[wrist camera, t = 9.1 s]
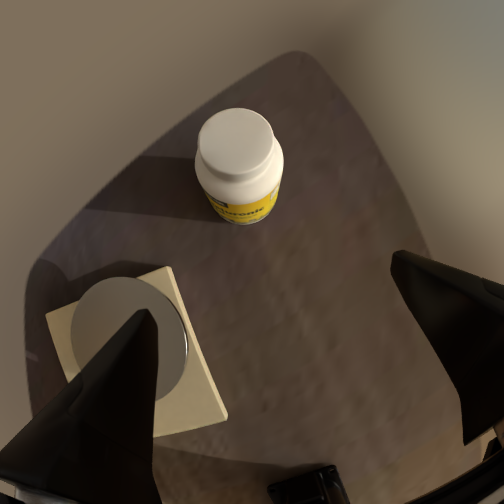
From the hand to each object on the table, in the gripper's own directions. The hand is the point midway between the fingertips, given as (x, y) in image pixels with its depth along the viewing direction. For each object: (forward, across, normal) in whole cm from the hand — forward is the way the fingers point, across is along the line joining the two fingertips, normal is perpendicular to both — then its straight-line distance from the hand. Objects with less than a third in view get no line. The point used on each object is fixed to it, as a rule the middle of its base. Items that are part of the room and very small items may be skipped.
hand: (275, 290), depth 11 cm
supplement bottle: (+15, 0, -4) cm, 16 cm away
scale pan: (+6, -11, -9) cm, 15 cm away
